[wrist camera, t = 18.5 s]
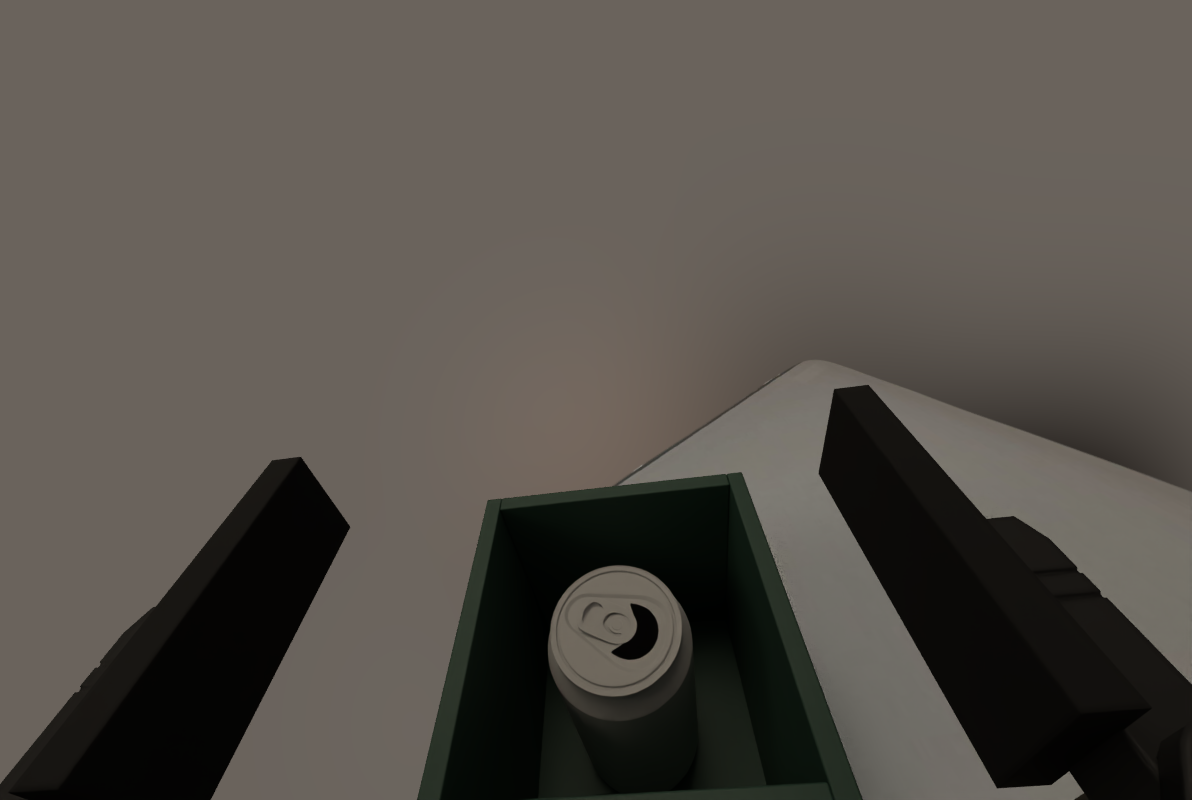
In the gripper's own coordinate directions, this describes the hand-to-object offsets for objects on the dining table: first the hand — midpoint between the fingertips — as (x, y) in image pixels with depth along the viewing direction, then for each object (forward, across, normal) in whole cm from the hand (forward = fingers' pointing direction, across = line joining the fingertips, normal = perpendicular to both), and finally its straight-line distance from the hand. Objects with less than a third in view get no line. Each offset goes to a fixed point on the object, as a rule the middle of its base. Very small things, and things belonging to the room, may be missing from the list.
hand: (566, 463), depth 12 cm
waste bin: (+2, 0, -24) cm, 24 cm away
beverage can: (+2, 0, -23) cm, 23 cm away
